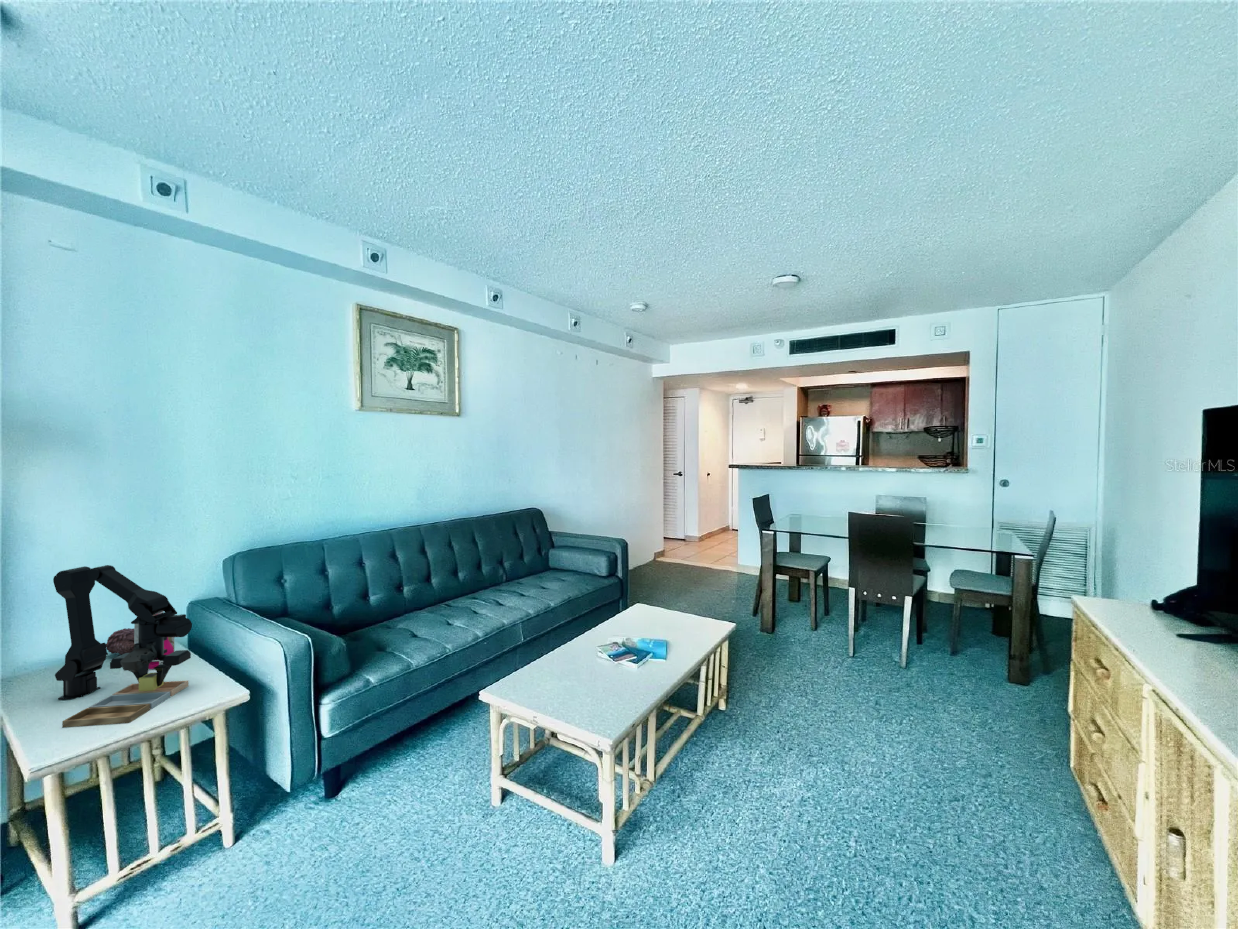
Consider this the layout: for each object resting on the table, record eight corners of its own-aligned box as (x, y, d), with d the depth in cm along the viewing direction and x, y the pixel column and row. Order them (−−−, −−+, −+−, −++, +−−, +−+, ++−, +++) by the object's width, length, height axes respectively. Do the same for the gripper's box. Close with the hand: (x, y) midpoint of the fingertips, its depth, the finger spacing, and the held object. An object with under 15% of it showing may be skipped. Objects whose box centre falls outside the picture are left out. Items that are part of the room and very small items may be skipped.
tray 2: (88, 714, 137) (88, 707, 137) (110, 702, 144) (110, 695, 144) (151, 710, 139) (151, 703, 139) (170, 698, 146) (170, 691, 146)
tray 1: (62, 729, 129) (62, 721, 129) (87, 715, 136) (86, 708, 136) (129, 724, 132) (129, 716, 132) (150, 711, 139) (150, 704, 139)
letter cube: (138, 691, 147) (138, 678, 147) (149, 685, 151) (149, 672, 151) (153, 690, 147) (153, 677, 147) (163, 684, 151) (163, 671, 151)
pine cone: (149, 656, 177) (149, 630, 177) (110, 665, 169) (110, 638, 169) (139, 645, 188) (139, 620, 188) (102, 653, 180) (102, 627, 180)
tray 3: (112, 701, 144) (112, 694, 144) (132, 690, 151) (132, 683, 151) (171, 698, 147) (171, 690, 147) (188, 687, 154) (188, 680, 154)
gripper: (92, 648, 139) (92, 701, 140) (164, 645, 142) (164, 697, 142) (125, 634, 150) (126, 683, 151) (191, 631, 153) (192, 680, 153)
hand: (151, 686), depth 149 cm, fingers closed on letter cube, 4 cm apart
